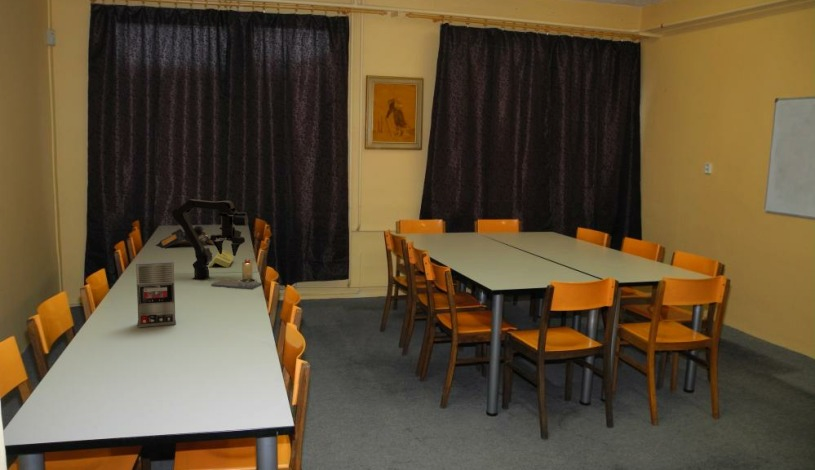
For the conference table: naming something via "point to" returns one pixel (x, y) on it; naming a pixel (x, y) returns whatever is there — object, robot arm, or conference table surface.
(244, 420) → the conference table surface
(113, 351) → the conference table surface
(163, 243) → the toolset
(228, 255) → the plastic component
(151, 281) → the cassette tape recorder
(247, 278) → the tan bottle
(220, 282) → the plate
